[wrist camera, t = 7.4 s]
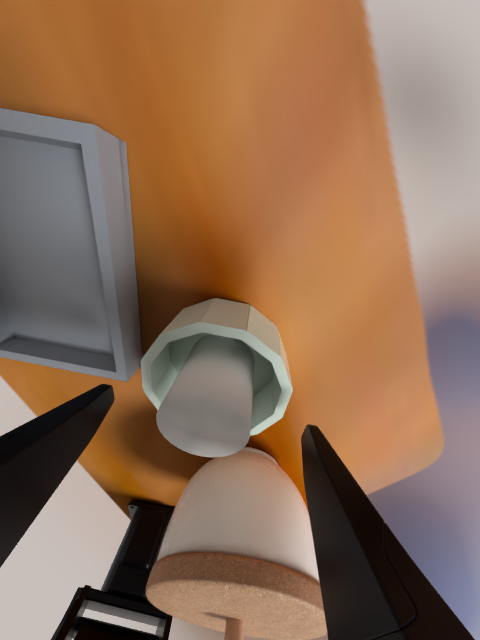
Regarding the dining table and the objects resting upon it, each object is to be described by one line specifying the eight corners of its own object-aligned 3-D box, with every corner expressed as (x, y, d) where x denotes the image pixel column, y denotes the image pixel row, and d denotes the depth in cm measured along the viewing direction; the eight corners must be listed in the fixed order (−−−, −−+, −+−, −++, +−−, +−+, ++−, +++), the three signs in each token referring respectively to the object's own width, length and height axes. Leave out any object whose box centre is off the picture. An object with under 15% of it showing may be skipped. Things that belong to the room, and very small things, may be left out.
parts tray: (142, 363, 14) (127, 381, 12) (18, 339, 14) (-14, 354, 12) (125, 143, 8) (94, 124, 7) (-77, 107, 9) (-154, 80, 7)
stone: (260, 340, 11) (259, 405, 7) (247, 391, 13) (241, 464, 9) (192, 327, 12) (154, 384, 8) (189, 379, 13) (157, 446, 9)
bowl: (268, 406, 15) (270, 448, 12) (166, 386, 15) (145, 423, 12) (299, 313, 11) (311, 342, 8) (166, 288, 11) (136, 309, 9)
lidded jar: (166, 459, 19) (91, 646, 11) (243, 408, 15) (220, 646, 7) (246, 507, 22) (237, 687, 13) (331, 474, 18) (395, 706, 9)
